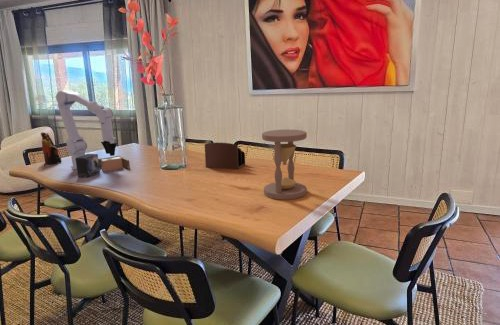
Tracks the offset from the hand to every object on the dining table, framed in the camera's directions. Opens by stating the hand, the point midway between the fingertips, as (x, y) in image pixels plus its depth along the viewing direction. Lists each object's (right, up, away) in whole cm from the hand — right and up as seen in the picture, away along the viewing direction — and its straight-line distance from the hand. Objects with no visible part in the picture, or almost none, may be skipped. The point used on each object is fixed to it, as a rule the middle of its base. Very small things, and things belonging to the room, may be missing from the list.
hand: (110, 154), depth 191 cm
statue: (-47, -5, +25) cm, 53 cm away
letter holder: (+65, -7, -2) cm, 65 cm away
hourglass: (+93, -17, -50) cm, 107 cm away
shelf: (-1, -8, +4) cm, 9 cm away
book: (0, -8, +2) cm, 9 cm away
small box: (-8, -11, -8) cm, 16 cm away
